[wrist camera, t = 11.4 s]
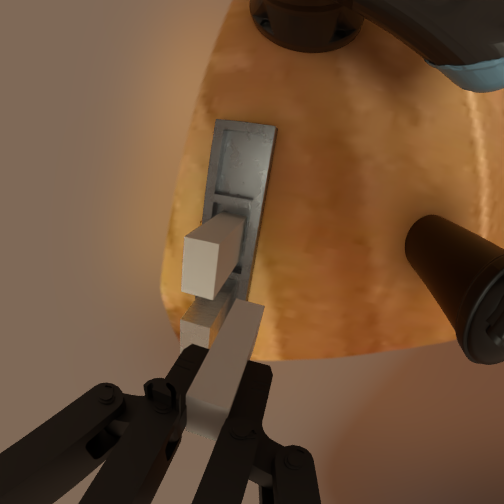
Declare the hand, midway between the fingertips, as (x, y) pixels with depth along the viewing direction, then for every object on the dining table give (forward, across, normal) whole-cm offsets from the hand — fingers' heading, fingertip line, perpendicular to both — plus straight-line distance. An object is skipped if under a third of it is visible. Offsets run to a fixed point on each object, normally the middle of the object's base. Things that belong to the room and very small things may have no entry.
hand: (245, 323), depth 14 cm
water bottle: (+24, +21, +2) cm, 32 cm away
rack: (+23, -7, -4) cm, 24 cm away
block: (+23, -7, -4) cm, 24 cm away
